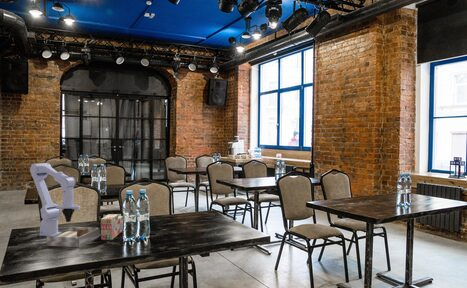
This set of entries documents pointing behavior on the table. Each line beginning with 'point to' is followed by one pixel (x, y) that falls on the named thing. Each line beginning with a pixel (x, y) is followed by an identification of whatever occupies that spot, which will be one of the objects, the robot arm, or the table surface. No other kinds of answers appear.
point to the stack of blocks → (111, 226)
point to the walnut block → (81, 231)
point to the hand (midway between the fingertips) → (68, 221)
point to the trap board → (73, 237)
